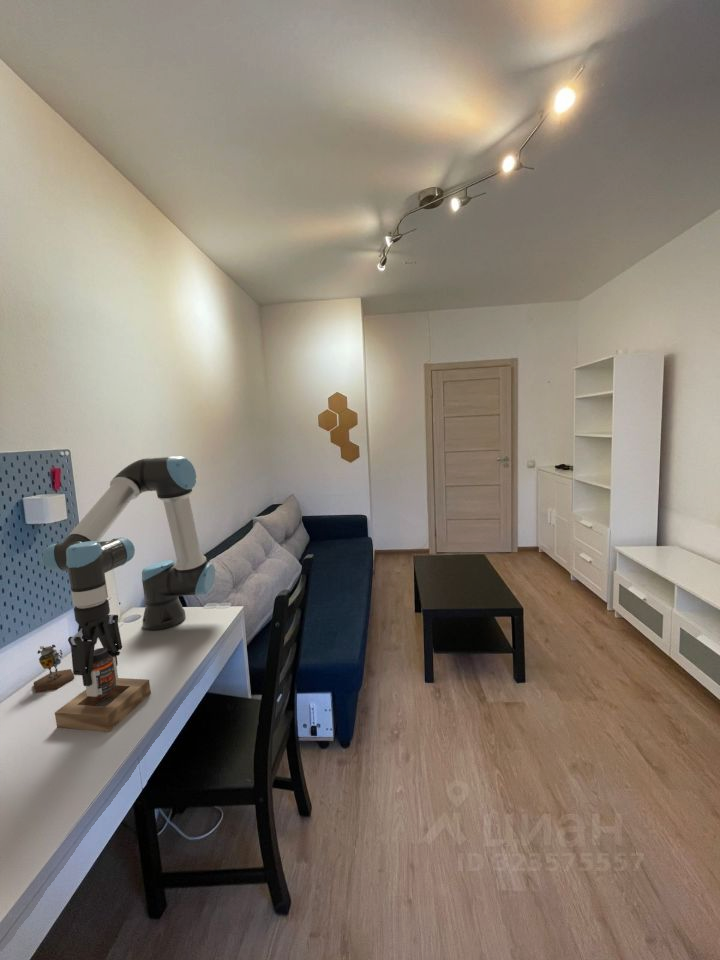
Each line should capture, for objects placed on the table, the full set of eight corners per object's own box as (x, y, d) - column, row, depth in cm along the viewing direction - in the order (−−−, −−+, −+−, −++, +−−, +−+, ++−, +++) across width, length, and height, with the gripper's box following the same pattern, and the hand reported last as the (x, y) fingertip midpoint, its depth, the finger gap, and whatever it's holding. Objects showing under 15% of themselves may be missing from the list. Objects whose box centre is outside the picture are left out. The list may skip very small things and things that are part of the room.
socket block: (104, 690, 118) (102, 677, 117) (150, 693, 115) (149, 679, 114) (56, 727, 103) (54, 712, 102) (108, 731, 100) (106, 716, 100)
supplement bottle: (104, 700, 105) (98, 658, 103) (84, 698, 106) (78, 657, 105) (122, 686, 110) (116, 646, 109) (103, 684, 112) (97, 645, 110)
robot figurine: (82, 670, 129) (76, 633, 128) (68, 687, 120) (62, 648, 119) (42, 676, 127) (36, 639, 126) (24, 694, 118) (18, 655, 117)
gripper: (107, 588, 115) (118, 666, 118) (44, 619, 97) (58, 710, 100) (130, 588, 114) (141, 667, 117) (71, 619, 96) (85, 712, 98)
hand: (103, 687), depth 108 cm, fingers closed on supplement bottle, 6 cm apart
